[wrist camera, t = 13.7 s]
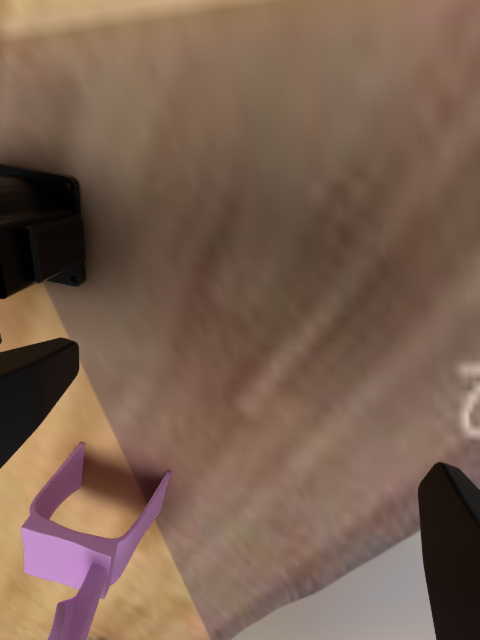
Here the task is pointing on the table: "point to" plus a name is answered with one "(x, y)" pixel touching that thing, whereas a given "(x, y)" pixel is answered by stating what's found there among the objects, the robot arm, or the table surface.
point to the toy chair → (78, 549)
